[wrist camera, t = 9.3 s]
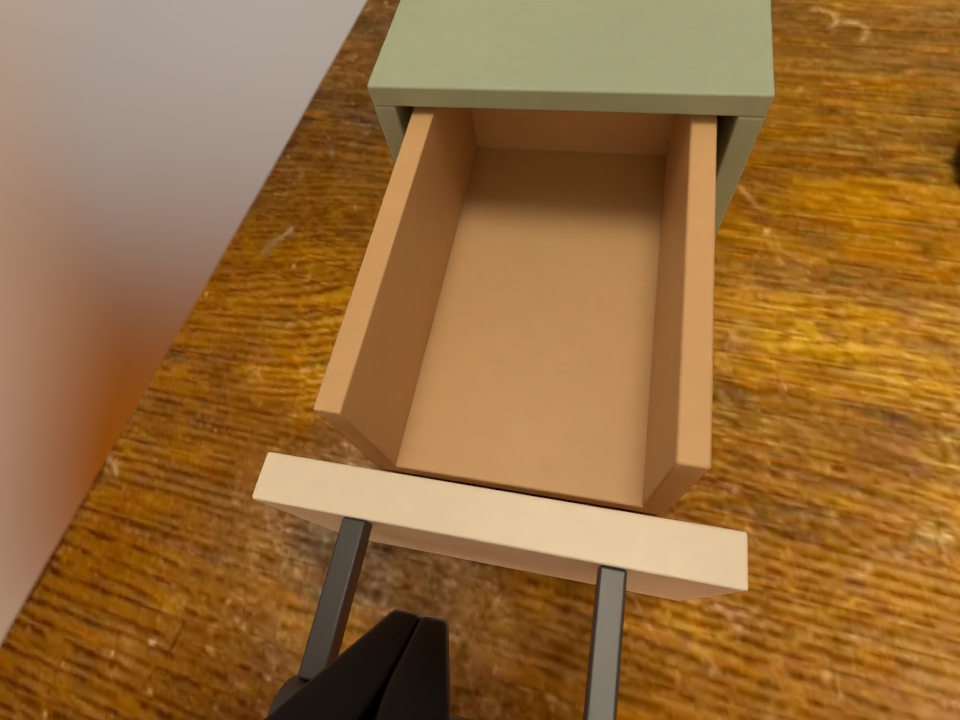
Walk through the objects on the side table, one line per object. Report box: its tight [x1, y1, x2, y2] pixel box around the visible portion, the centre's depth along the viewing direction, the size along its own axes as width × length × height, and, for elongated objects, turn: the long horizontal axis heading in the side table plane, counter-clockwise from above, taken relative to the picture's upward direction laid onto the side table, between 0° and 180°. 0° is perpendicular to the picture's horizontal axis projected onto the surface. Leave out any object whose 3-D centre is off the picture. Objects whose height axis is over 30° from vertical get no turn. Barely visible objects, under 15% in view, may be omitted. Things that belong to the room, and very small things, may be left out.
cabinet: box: [367, 0, 775, 237], centre depth 25 cm, size 20×13×9 cm, turn 169°
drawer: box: [252, 107, 748, 720], centre depth 18 cm, size 24×11×7 cm, turn 169°
